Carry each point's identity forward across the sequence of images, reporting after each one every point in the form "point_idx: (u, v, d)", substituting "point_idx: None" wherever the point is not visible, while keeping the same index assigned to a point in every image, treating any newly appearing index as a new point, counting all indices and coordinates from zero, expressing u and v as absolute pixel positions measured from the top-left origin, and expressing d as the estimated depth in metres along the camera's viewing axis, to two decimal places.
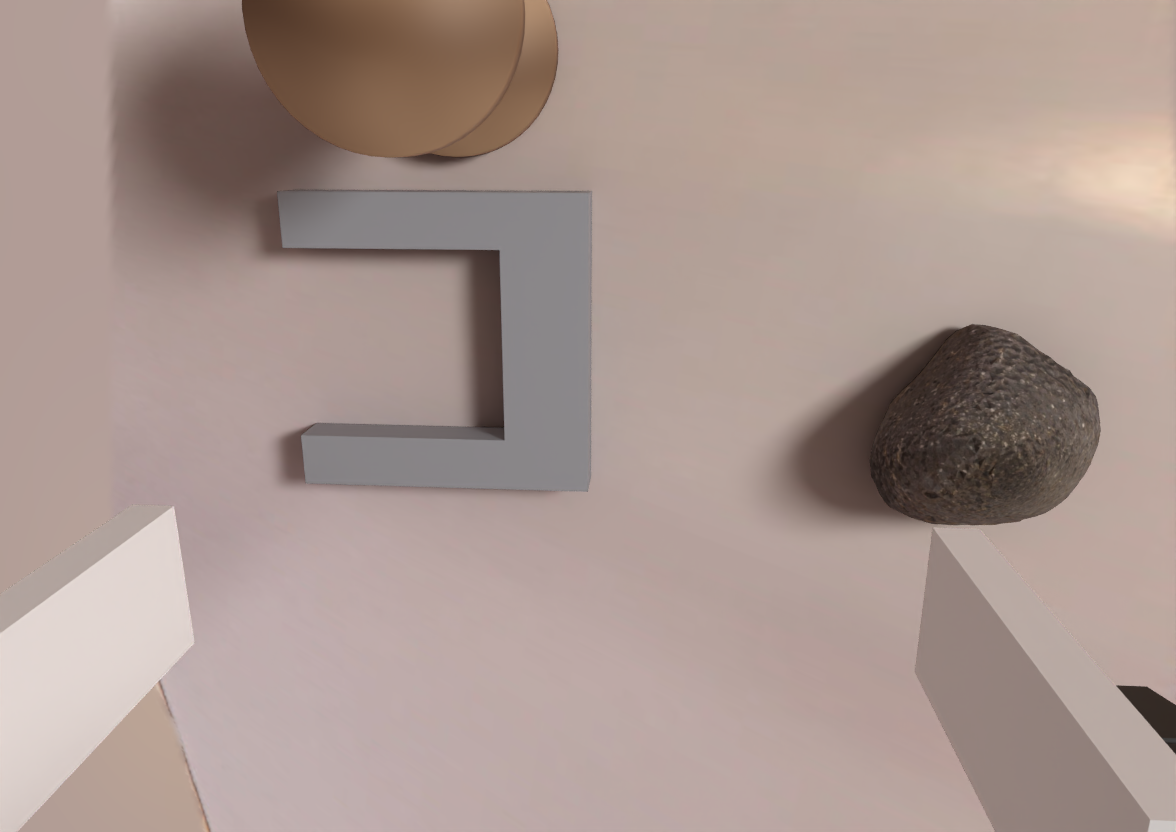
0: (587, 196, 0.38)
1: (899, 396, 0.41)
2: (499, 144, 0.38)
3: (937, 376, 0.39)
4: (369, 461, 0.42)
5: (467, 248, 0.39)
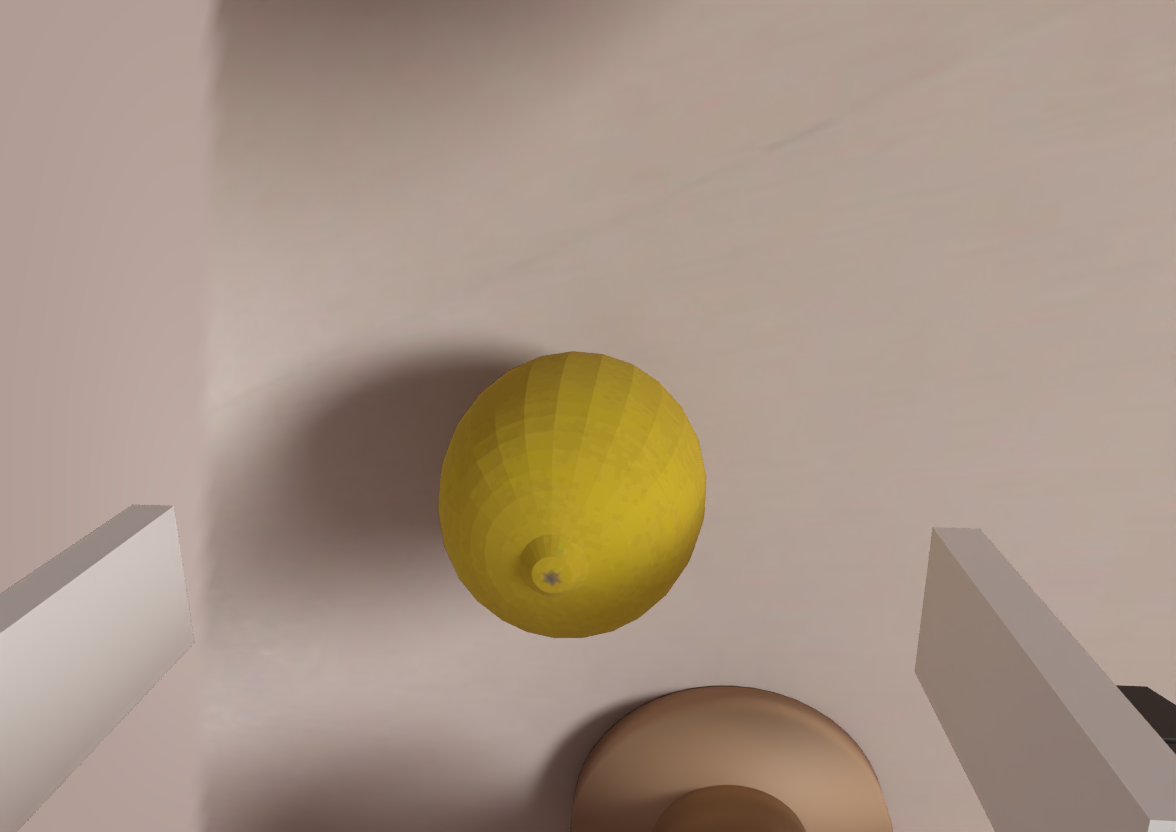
0: None
1: None
2: None
3: None
4: None
5: None
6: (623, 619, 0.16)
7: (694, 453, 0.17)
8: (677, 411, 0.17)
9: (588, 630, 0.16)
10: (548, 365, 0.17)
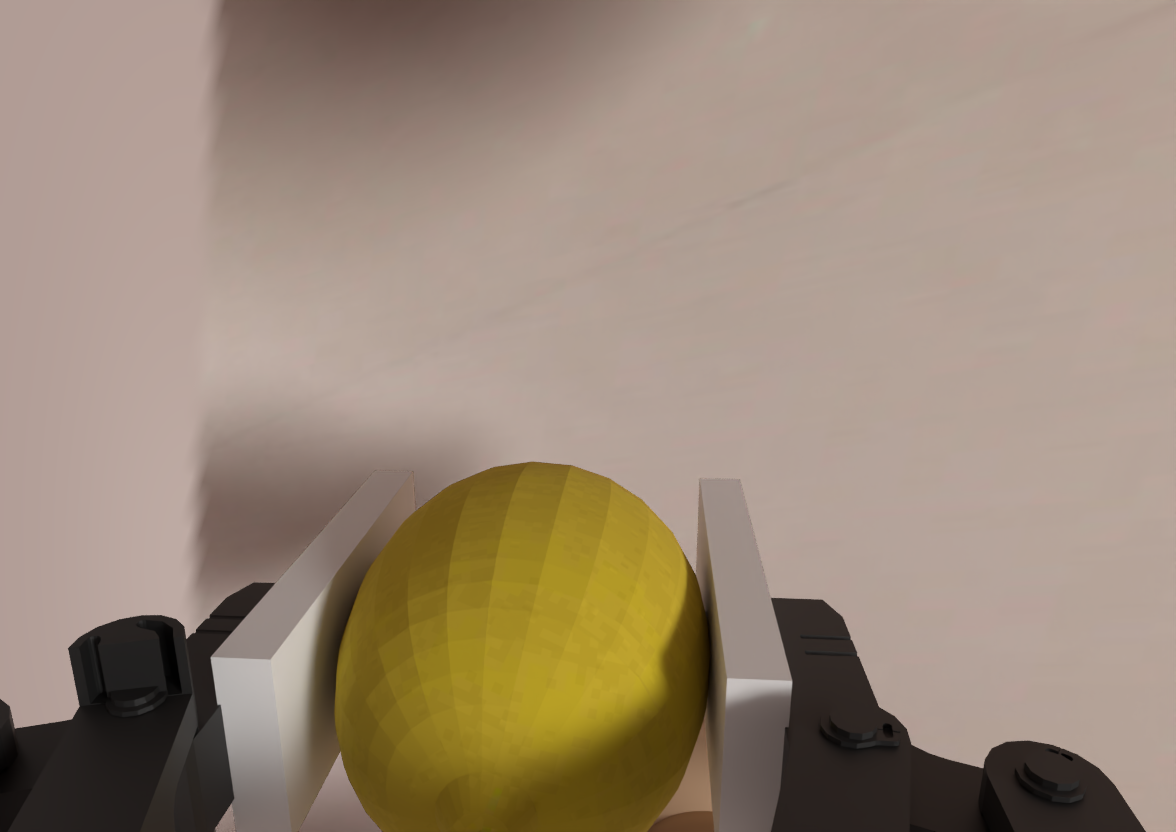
0: None
1: None
2: None
3: None
4: None
5: None
6: None
7: (694, 617, 0.12)
8: (670, 553, 0.13)
9: None
10: (491, 491, 0.12)
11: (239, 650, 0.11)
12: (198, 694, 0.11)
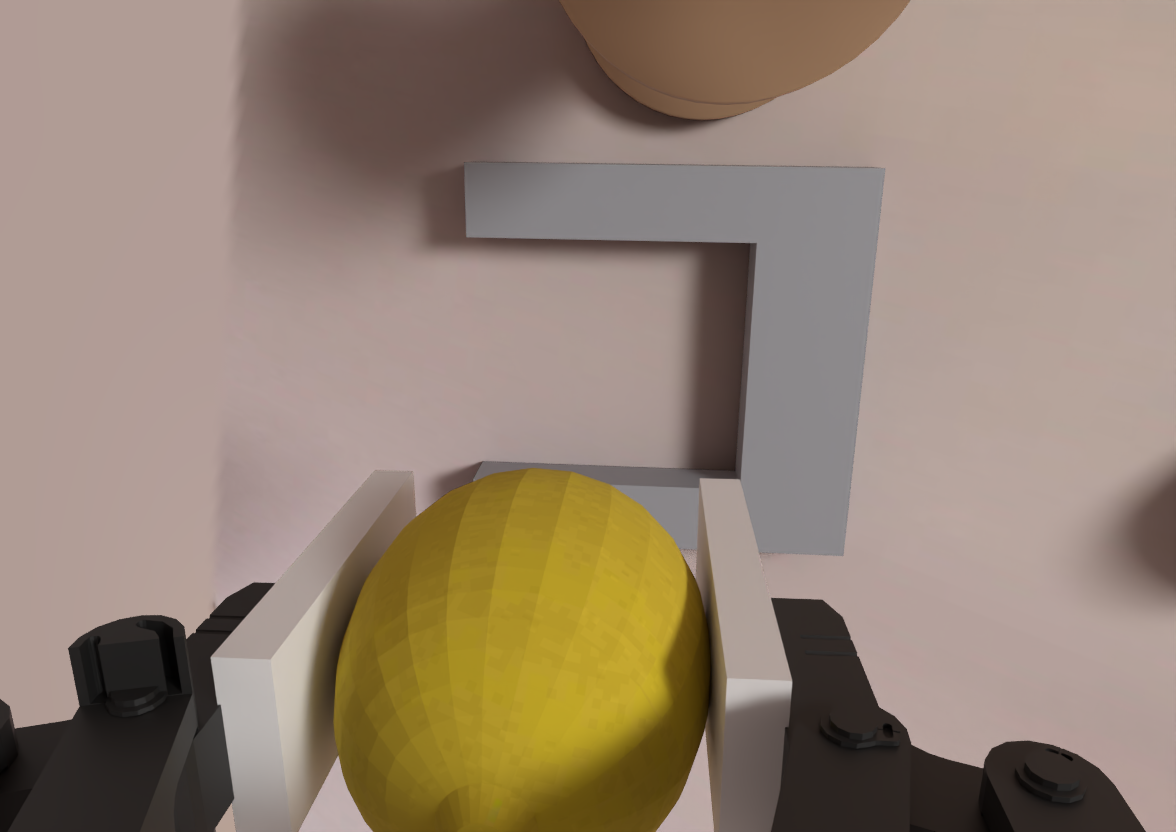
0: (883, 173, 0.28)
1: None
2: (763, 102, 0.29)
3: None
4: None
5: (714, 240, 0.29)
6: None
7: (695, 624, 0.12)
8: (671, 560, 0.13)
9: None
10: (491, 498, 0.12)
11: (239, 650, 0.11)
12: (198, 694, 0.11)
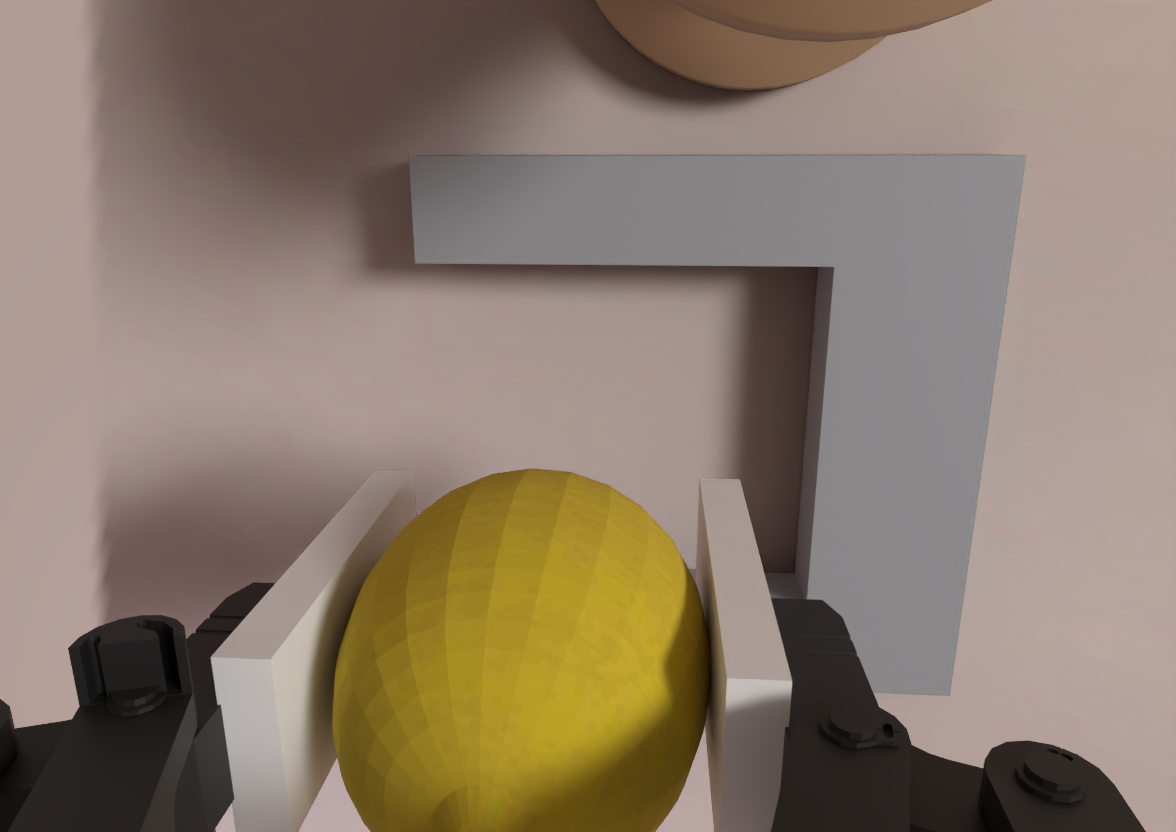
0: (1022, 162, 0.19)
1: None
2: (842, 62, 0.20)
3: None
4: None
5: (772, 264, 0.20)
6: None
7: (694, 625, 0.12)
8: (670, 562, 0.13)
9: None
10: (490, 499, 0.12)
11: (239, 650, 0.11)
12: (198, 694, 0.11)
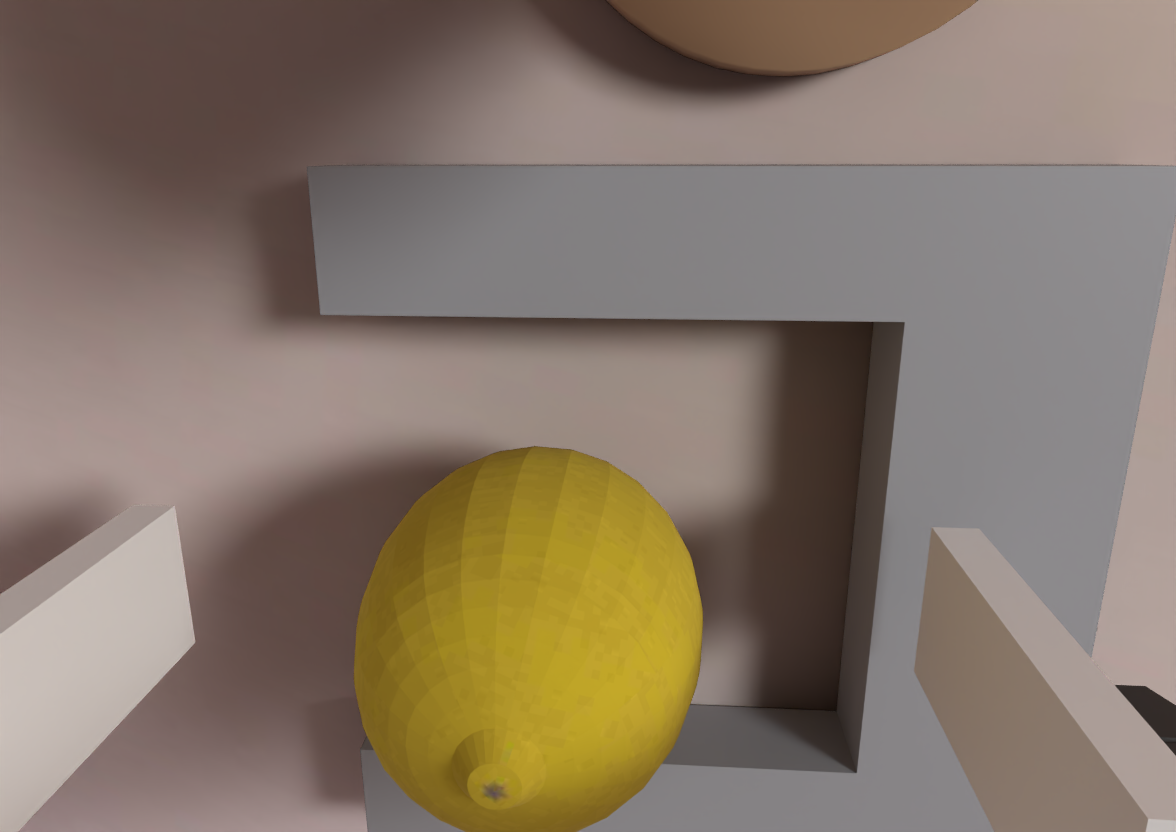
0: None
1: None
2: (919, 34, 0.14)
3: None
4: None
5: (817, 317, 0.15)
6: (595, 821, 0.12)
7: (688, 589, 0.13)
8: (665, 531, 0.14)
9: None
10: (498, 473, 0.13)
11: None
12: None
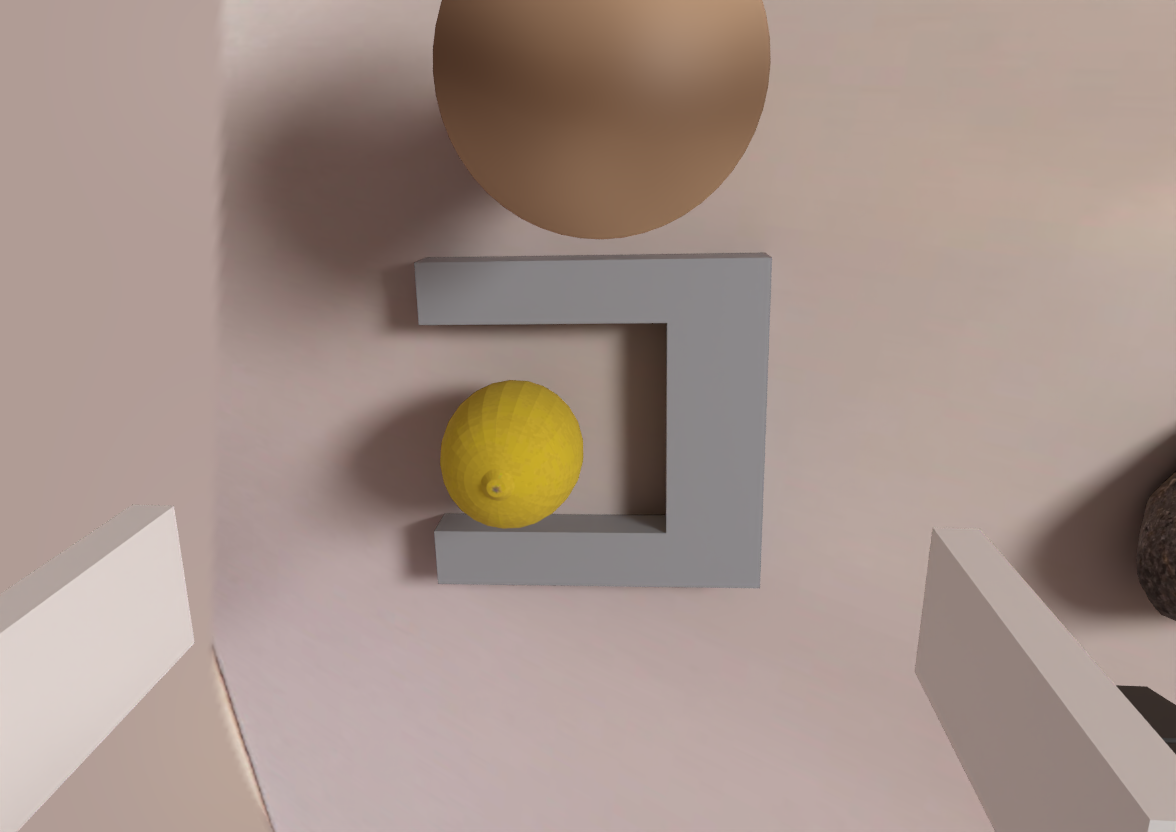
0: (770, 261, 0.33)
1: (1161, 488, 0.36)
2: None
3: None
4: (511, 558, 0.38)
5: (630, 321, 0.34)
6: (535, 514, 0.32)
7: (572, 431, 0.33)
8: (564, 410, 0.33)
9: (517, 520, 0.32)
10: (495, 388, 0.33)
11: None
12: None
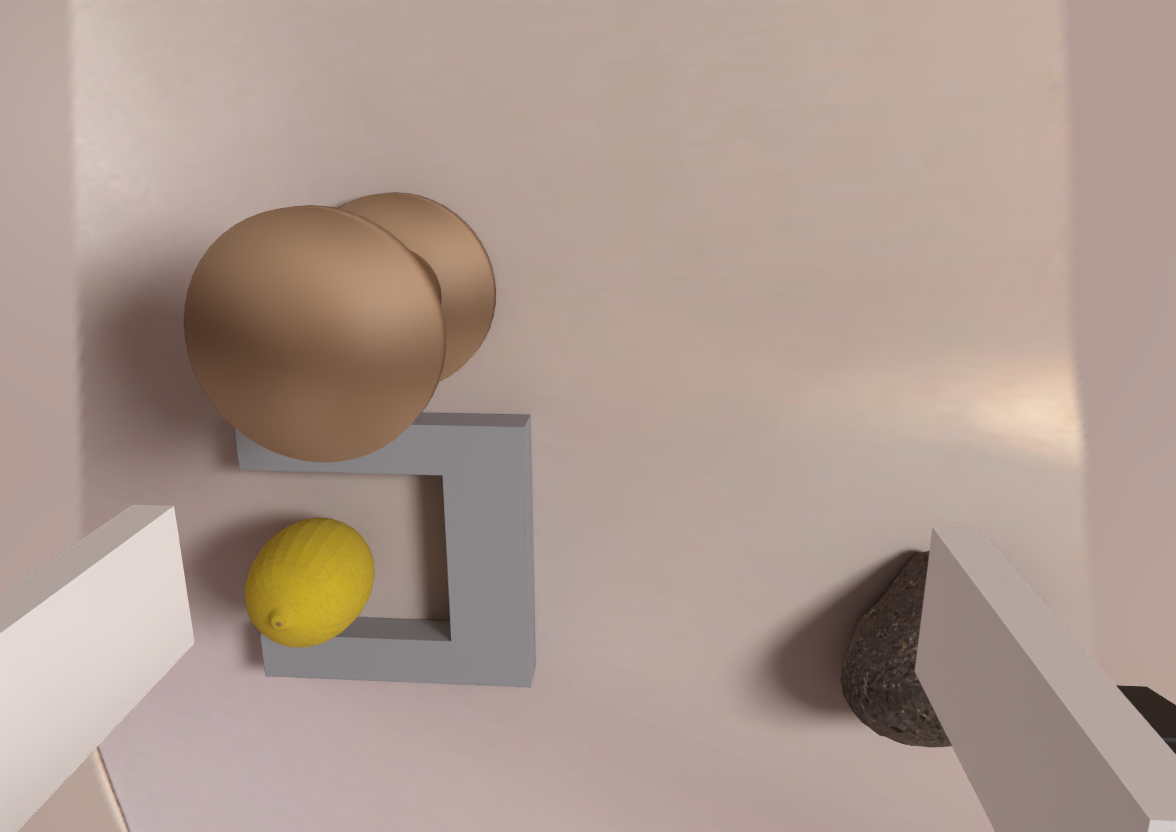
0: (523, 430, 0.40)
1: (866, 615, 0.43)
2: (441, 379, 0.41)
3: (898, 606, 0.41)
4: (325, 657, 0.45)
5: (412, 473, 0.41)
6: (318, 639, 0.39)
7: (355, 567, 0.40)
8: (351, 548, 0.40)
9: (304, 644, 0.39)
10: (294, 530, 0.40)
11: None
12: None
